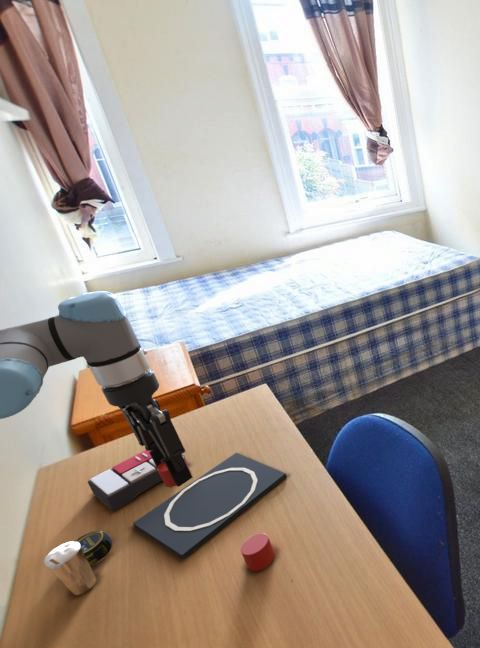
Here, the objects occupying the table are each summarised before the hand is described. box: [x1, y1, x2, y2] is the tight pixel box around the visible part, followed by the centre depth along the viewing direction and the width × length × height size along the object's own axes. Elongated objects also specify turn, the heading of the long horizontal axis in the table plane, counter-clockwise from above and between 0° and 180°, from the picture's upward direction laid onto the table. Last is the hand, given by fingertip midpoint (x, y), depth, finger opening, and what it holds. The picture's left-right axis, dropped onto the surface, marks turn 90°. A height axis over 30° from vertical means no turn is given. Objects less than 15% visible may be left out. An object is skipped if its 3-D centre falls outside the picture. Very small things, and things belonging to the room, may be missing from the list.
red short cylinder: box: [240, 532, 276, 572], centre depth 82 cm, size 4×4×4 cm
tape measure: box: [73, 529, 114, 567], centre depth 86 cm, size 7×7×4 cm
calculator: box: [87, 449, 189, 512], centre depth 105 cm, size 11×4×15 cm
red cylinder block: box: [157, 457, 192, 488], centre depth 91 cm, size 4×4×4 cm
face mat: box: [132, 452, 287, 560], centre depth 97 cm, size 22×18×1 cm
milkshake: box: [43, 541, 97, 596], centre depth 79 cm, size 4×5×10 cm
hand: (177, 477), depth 92 cm, fingers closed on red cylinder block, 4 cm apart
